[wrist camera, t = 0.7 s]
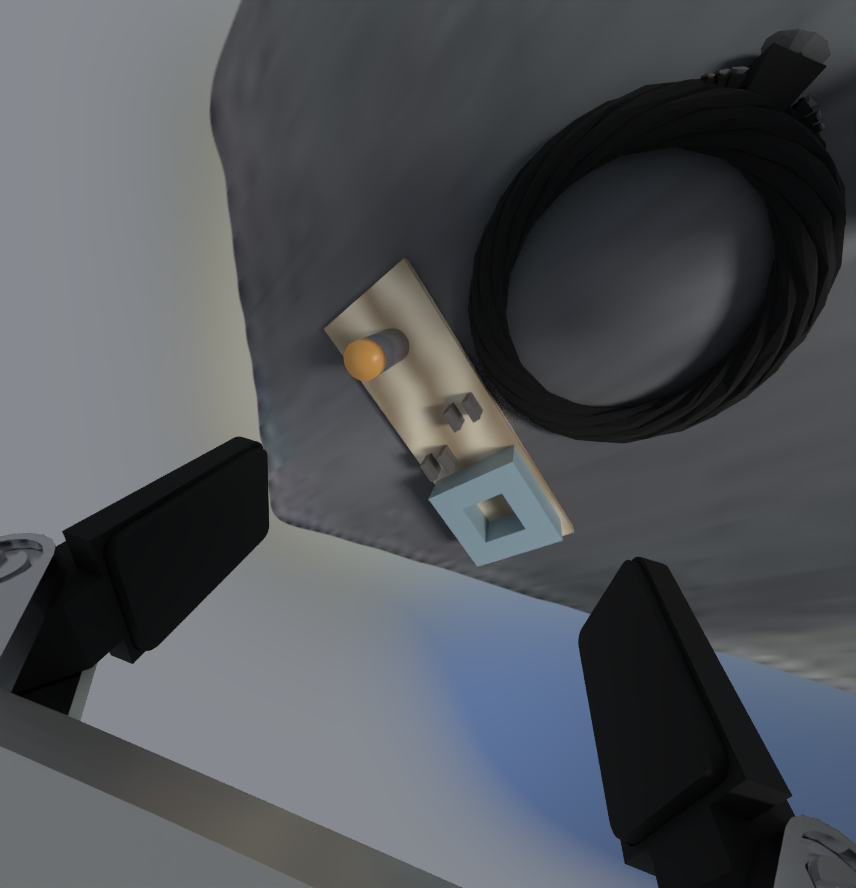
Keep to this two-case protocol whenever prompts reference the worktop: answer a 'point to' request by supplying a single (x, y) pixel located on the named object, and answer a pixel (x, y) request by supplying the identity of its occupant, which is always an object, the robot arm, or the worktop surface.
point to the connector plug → (375, 353)
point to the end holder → (506, 534)
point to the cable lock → (709, 132)
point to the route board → (432, 386)
